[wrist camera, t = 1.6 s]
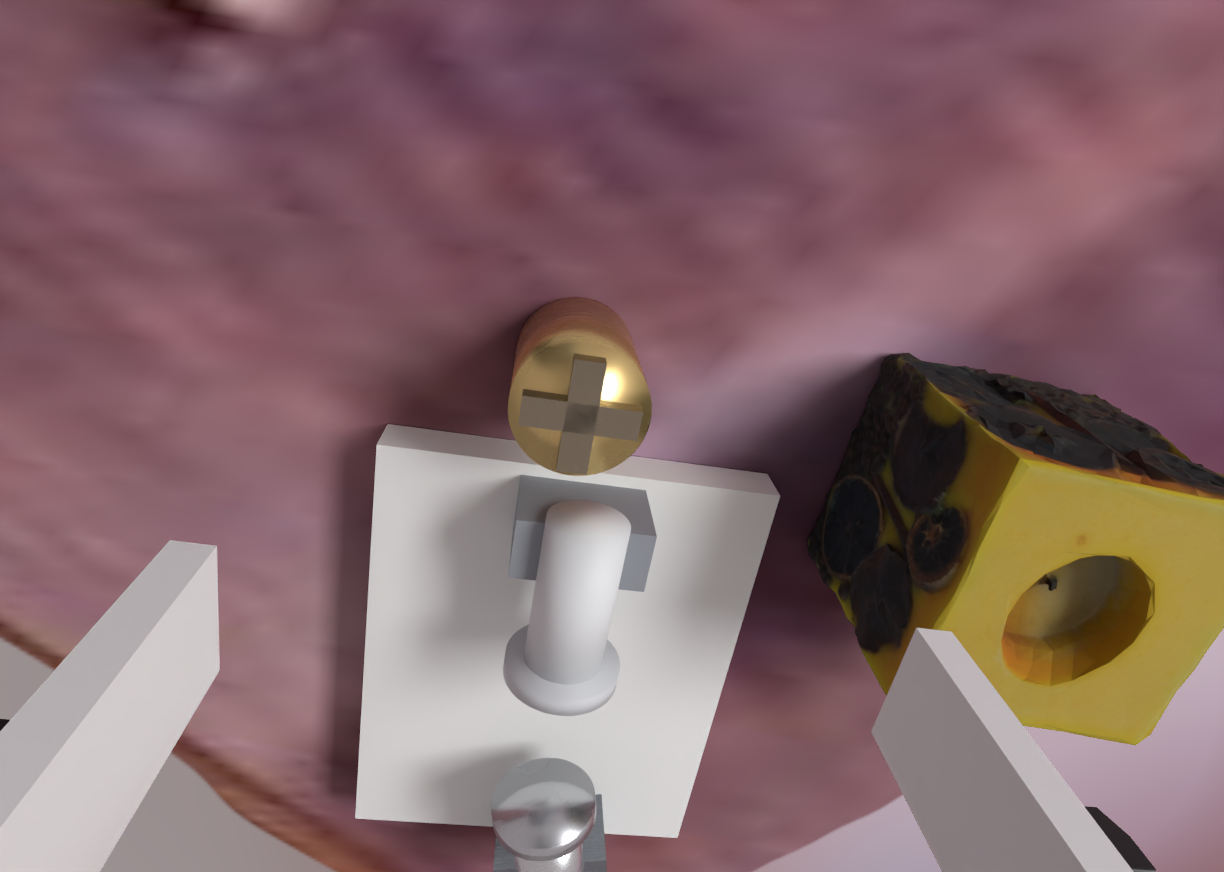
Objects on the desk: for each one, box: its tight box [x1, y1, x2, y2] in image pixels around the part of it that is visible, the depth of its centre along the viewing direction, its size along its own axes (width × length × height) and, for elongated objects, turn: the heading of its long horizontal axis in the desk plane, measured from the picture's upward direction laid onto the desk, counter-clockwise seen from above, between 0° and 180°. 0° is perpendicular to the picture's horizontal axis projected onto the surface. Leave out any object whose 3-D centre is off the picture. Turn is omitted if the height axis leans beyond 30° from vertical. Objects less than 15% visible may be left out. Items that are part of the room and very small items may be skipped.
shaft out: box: [491, 758, 607, 872], centre depth 33 cm, size 7×5×6 cm
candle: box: [808, 353, 1224, 745], centre depth 28 cm, size 10×10×10 cm
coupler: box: [508, 297, 652, 476], centre depth 26 cm, size 5×5×7 cm
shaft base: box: [355, 424, 780, 838], centre depth 31 cm, size 20×16×8 cm
